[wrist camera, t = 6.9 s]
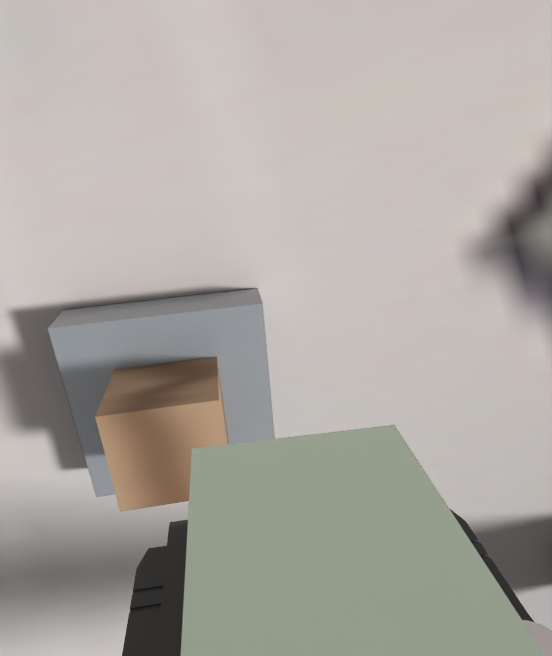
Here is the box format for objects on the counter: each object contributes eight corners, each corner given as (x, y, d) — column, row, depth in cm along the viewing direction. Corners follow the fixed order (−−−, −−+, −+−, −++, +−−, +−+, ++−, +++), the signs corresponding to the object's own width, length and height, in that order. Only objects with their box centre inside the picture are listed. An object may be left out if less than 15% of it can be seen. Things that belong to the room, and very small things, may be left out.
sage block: (394, 425, 11) (566, 688, 6) (384, 569, 13) (507, 870, 8) (191, 448, 11) (174, 763, 5) (211, 595, 13) (213, 939, 7)
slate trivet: (257, 288, 29) (262, 303, 27) (271, 442, 34) (277, 469, 31) (63, 310, 28) (47, 328, 25) (105, 467, 33) (96, 496, 30)
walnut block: (217, 356, 27) (218, 400, 23) (228, 439, 30) (232, 494, 25) (114, 369, 27) (95, 416, 22) (134, 453, 29) (120, 511, 25)
